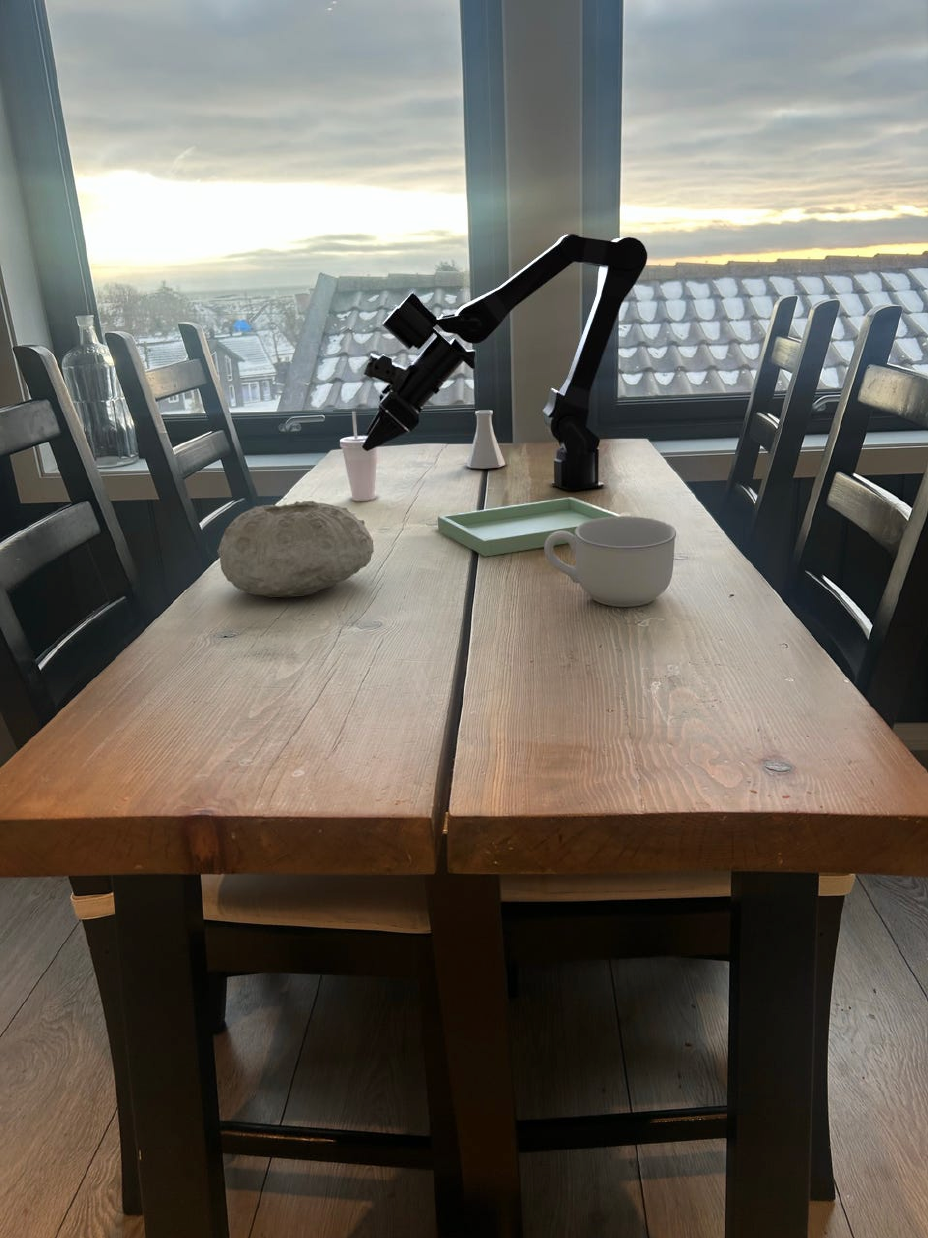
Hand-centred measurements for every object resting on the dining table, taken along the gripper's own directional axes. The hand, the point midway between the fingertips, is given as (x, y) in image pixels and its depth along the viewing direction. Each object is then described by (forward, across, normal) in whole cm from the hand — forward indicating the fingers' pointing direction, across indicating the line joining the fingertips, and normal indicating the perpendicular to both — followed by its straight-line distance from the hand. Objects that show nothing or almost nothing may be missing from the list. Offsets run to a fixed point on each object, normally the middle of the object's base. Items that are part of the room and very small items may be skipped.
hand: (364, 444), depth 160 cm
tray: (-10, +28, +22) cm, 37 cm away
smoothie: (+7, 0, +6) cm, 9 cm away
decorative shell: (+11, +47, +1) cm, 48 cm away
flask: (-9, -22, +21) cm, 32 cm away
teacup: (-13, +58, +26) cm, 65 cm away
